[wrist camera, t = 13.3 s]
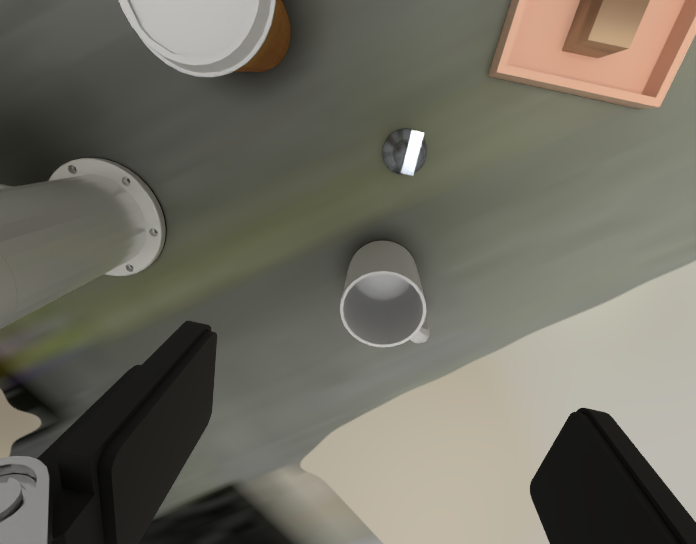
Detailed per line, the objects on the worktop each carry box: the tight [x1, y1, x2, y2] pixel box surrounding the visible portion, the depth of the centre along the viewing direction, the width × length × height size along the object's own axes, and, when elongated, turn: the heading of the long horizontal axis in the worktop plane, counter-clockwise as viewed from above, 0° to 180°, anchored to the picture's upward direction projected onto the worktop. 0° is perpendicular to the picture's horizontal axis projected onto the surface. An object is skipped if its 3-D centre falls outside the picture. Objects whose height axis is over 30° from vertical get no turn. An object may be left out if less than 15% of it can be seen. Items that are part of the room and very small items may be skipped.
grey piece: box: [383, 129, 426, 176], centre depth 30 cm, size 4×4×8 cm
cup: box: [340, 240, 430, 347], centre depth 35 cm, size 7×10×9 cm
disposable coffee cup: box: [119, 0, 291, 77], centre depth 25 cm, size 10×10×12 cm
